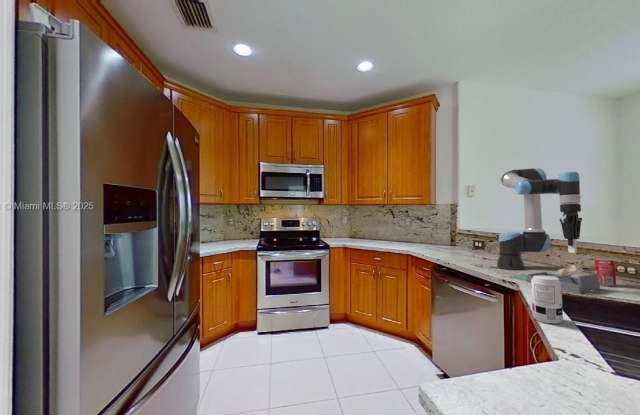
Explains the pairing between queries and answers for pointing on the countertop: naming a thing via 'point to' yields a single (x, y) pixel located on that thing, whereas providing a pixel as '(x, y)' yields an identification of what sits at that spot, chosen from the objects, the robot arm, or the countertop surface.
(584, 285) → the charcoal tray
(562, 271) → the maple bar
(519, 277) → the green mat
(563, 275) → the lever
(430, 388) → the countertop surface
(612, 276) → the red toy chair
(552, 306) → the supplement can
